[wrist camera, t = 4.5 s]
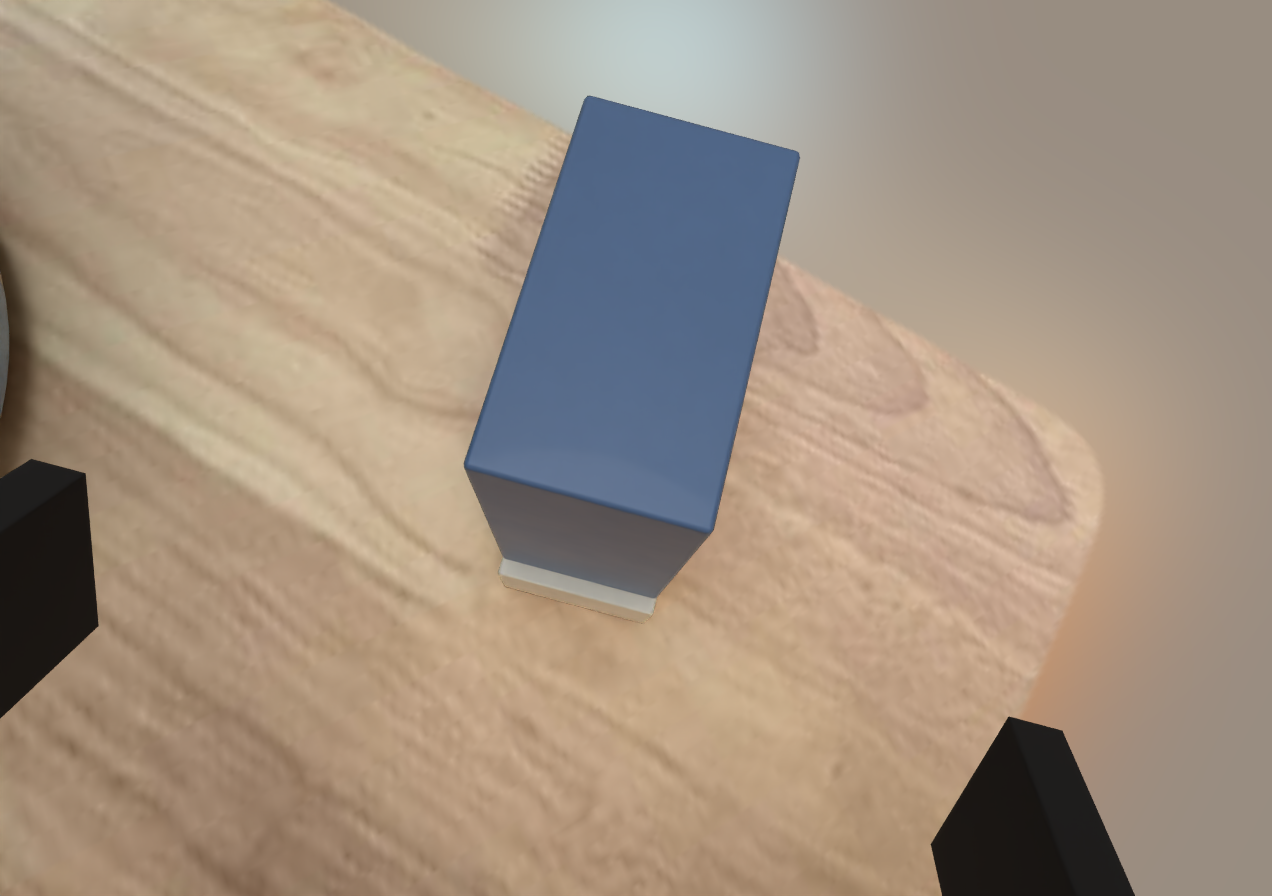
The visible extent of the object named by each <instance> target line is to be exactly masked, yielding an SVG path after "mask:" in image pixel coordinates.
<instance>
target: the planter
mask: <svg viewBox="0 0 1272 896" xmlns="http://www.w3.org/2000/svg"><path fill="white" fill-rule="evenodd" d="M8 363H9V324H8V314H7V305H6V298H5V292H4V287H3V281H2V276H1V272H0V417H1V413H2V408H3V402H4V397H5V391H6V385H7V375H8Z"/></svg>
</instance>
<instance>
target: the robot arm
mask: <svg viewBox="0 0 1272 896" xmlns="http://www.w3.org/2000/svg"><path fill="white" fill-rule="evenodd" d="M98 626H99V625H98V614H97V602H96V590H95V578H94V567H93V555H92V543H91V532H90V520H89V508H88V496H87V485H86V473H82V472H79V471H75V470H71V469H67V468H63V467H60V466H56V465H52V464H48V463H44V462H41V461H37V460H33V459H31V460H29V461H27V462H26V463H24V464H23V465H21V466H19V467H18V468H16V469H15V470H13V471H11V472H10V473H8V474H7V475H5V476H3V477H2V478H0V718H1V717H2V716H4V715H5V714H6V713H7V712H8V711H9V710H10V709H11V708H12V707H13V706H14V705H15V704H16V703H17V702H18V701H19V700H20V699H22V698H23V697H24V696H25V695H26V694H27V693H28V692H29V691H30V690H31V689H32V688H33V687H34V686H35V685H36V684H37V683H38V682H40V681H41V680H42V679H43V678H44V677H45V676H46V675H47V674H48V673H49V672H50V671H51V670H52V669H53V668H54V667H55V666H56V665H58V664H59V663H60V662H61V661H62V660H63V659H64V658H65V657H66V656H67V655H68V654H69V653H70V652H71V651H72V650H73V649H75V648H76V647H77V646H78V645H79V644H80V643H81V642H82V641H83V640H84V639H85V638H86V637H87V636H88V635H89V634H90V633H91V632H93V631H94V630H95V629H96V628H97V627H98ZM931 847H932V852H933V856H934V861H935V865H936V870H937V874H938V879H939V883H940V888H941V892H942V896H1135V894H1134V892H1133V890H1132V888H1131V886H1130V883H1129V881H1128V878H1127V876H1126V874H1125V872H1124V869H1123V867H1122V865H1121V863H1120V861H1119V858H1118V856H1117V854H1116V851H1115V849H1114V847H1113V845H1112V842H1111V840H1110V838H1109V835H1108V833H1107V831H1106V829H1105V826H1104V824H1103V822H1102V820H1101V817H1100V815H1099V813H1098V811H1097V808H1096V806H1095V804H1094V802H1093V799H1092V797H1091V795H1090V793H1089V791H1088V788H1087V786H1086V783H1085V781H1084V779H1083V777H1082V774H1081V772H1080V770H1079V768H1078V765H1077V763H1076V761H1075V759H1074V756H1073V754H1072V752H1071V750H1070V747H1069V745H1068V743H1067V740H1066V738H1065V736H1064V734H1063V731H1061V730H1058V729H1054V728H1050V727H1046V726H1043V725H1039V724H1035V723H1031V722H1027V721H1024V720H1020V719H1016V718H1012V717H1008V719H1007V720H1006V722H1005V723H1004V725H1003V727H1002V728H1001V730H1000V732H999V733H998V735H997V737H996V738H995V740H994V741H993V743H992V745H991V746H990V748H989V750H988V751H987V753H986V755H985V756H984V758H983V759H982V761H981V763H980V764H979V766H978V768H977V769H976V771H975V773H974V774H973V776H972V778H971V779H970V781H969V782H968V784H967V786H966V787H965V789H964V791H963V792H962V794H961V796H960V797H959V799H958V800H957V802H956V804H955V805H954V807H953V809H952V810H951V812H950V814H949V815H948V817H947V818H946V820H945V822H944V823H943V825H942V827H941V828H940V830H939V832H938V833H937V835H936V837H935V838H934V840H933V841H932V843H931Z"/></svg>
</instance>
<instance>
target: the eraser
mask: <svg viewBox="0 0 1272 896" xmlns="http://www.w3.org/2000/svg"><path fill="white" fill-rule="evenodd" d="M799 159H800V157H799V153H798V152H797V151H794V150H790V149H787V148H783V147H779V146H776V145H772V144H768V143H764V142H760V141H757V140H753V139H750V138H746V137H742V136H738V135H734V134H731V133H727V132H723V131H720V130H716V129H712V128H709V127H705V126H701V125H697V124H694V123H690V122H686V121H682V120H679V119H675V118H671V117H668V116H664V115H660V114H657V113H653V112H649V111H645V110H642V109H638V108H634V107H630V106H627V105H623V104H619V103H615V102H612V101H608V100H604V99H601V98H597V97H593V96H587V97H586V98H585V99H584V102H583V105H582V108H581V111H580V114H579V117H578V120H577V123H576V126H575V129H574V132H573V135H572V138H571V141H570V144H569V147H568V150H567V153H566V156H565V159H564V162H563V165H562V168H561V171H560V174H559V177H558V180H557V183H556V186H555V189H554V192H553V195H552V198H551V201H550V204H549V207H548V210H547V213H546V216H545V219H544V222H543V225H542V228H541V232H540V235H539V238H538V241H537V244H536V247H535V250H534V253H533V256H532V259H531V262H530V265H529V268H528V271H527V274H526V277H525V280H524V283H523V286H522V289H521V292H520V295H519V298H518V301H517V304H516V307H515V310H514V313H513V316H512V319H511V322H510V325H509V328H508V331H507V334H506V337H505V340H504V343H503V346H502V349H501V352H500V355H499V358H498V361H497V364H496V367H495V370H494V373H493V376H492V379H491V382H490V385H489V388H488V391H487V394H486V397H485V400H484V403H483V406H482V409H481V412H480V416H479V419H478V422H477V425H476V428H475V431H474V434H473V437H472V440H471V443H470V446H469V449H468V452H467V455H466V458H465V461H464V468H465V470H466V473H467V475H468V477H469V480H470V482H471V484H472V487H473V489H474V491H475V493H476V496H477V498H478V500H479V503H480V505H481V507H482V510H483V512H484V514H485V517H486V519H487V521H488V524H489V526H490V528H491V530H492V533H493V535H494V537H495V540H496V542H497V544H498V547H499V549H500V551H501V554H502V556H503V557H502V560H501V564H500V567H499V570H498V574H499V576H500V578H501V580H502V582H503V584H504V586H505V587H508V588H512V589H516V590H519V591H523V592H527V593H531V594H534V595H538V596H542V597H545V598H549V599H553V600H557V601H560V602H564V603H568V604H572V605H575V606H579V607H583V608H586V609H590V610H594V611H598V612H601V613H605V614H609V615H612V616H616V617H620V618H624V619H627V620H631V621H635V622H639V623H645V622H646V621H647V620H648V619H649V618H650V616H651V615H652V614H653V612H654V608H655V604H656V600H657V596H658V595H659V594H660V593H661V592H662V591H663V589H664V588H665V587H666V586H667V585H668V584H669V582H670V581H671V580H672V579H673V578H674V576H675V575H676V574H677V573H678V572H679V571H680V569H681V568H682V567H683V566H684V565H685V564H686V562H687V561H688V560H689V559H690V558H691V556H692V555H693V554H694V553H695V552H696V551H697V549H698V548H699V547H700V546H701V545H702V544H703V542H704V541H705V540H706V539H707V538H708V536H709V535H710V534H711V533H712V531H713V530H714V526H715V522H716V518H717V513H718V509H719V505H720V500H721V496H722V492H723V487H724V483H725V479H726V474H727V470H728V466H729V461H730V457H731V453H732V448H733V444H734V440H735V436H736V431H737V427H738V423H739V418H740V414H741V410H742V405H743V401H744V397H745V392H746V388H747V384H748V379H749V375H750V371H751V367H752V362H753V358H754V354H755V349H756V345H757V341H758V336H759V332H760V328H761V323H762V319H763V315H764V310H765V306H766V302H767V297H768V293H769V289H770V285H771V280H772V276H773V272H774V267H775V263H776V259H777V254H778V250H779V246H780V241H781V237H782V233H783V228H784V224H785V220H786V215H787V211H788V207H789V202H790V198H791V194H792V190H793V185H794V181H795V176H796V172H797V168H798V163H799Z"/></svg>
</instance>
